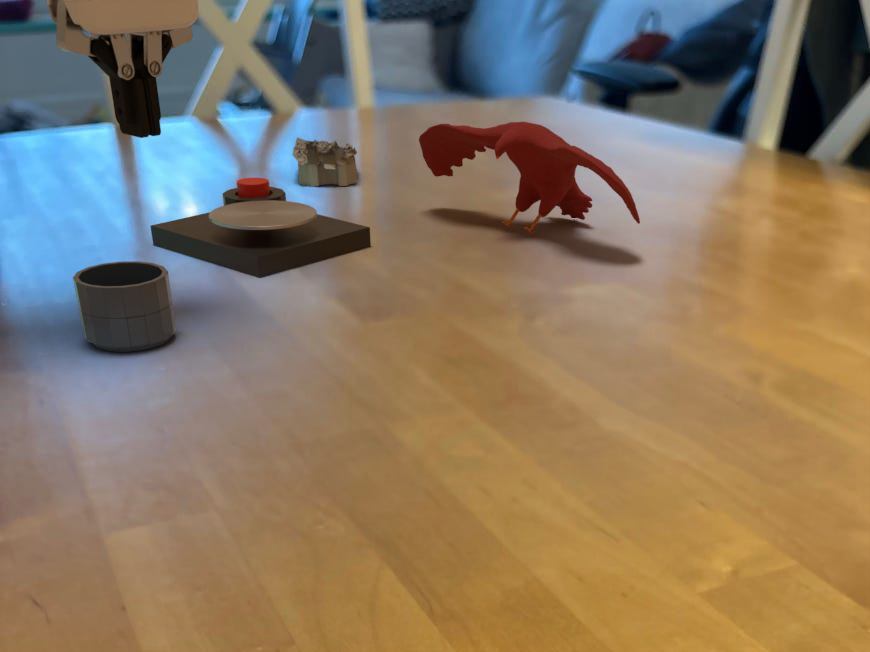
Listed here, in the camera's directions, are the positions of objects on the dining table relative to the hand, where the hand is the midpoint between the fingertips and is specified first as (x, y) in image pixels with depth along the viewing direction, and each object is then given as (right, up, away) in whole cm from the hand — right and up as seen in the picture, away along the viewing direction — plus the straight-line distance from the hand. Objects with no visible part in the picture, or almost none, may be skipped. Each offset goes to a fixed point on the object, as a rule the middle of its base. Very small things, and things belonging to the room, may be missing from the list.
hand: (140, 133), depth 85 cm
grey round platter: (+6, +1, +19) cm, 20 cm away
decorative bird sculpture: (+32, +3, +29) cm, 43 cm away
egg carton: (+8, +17, +49) cm, 52 cm away
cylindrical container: (-1, -16, +1) cm, 16 cm away
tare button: (+3, +6, +27) cm, 28 cm away
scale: (+5, 0, +23) cm, 24 cm away
